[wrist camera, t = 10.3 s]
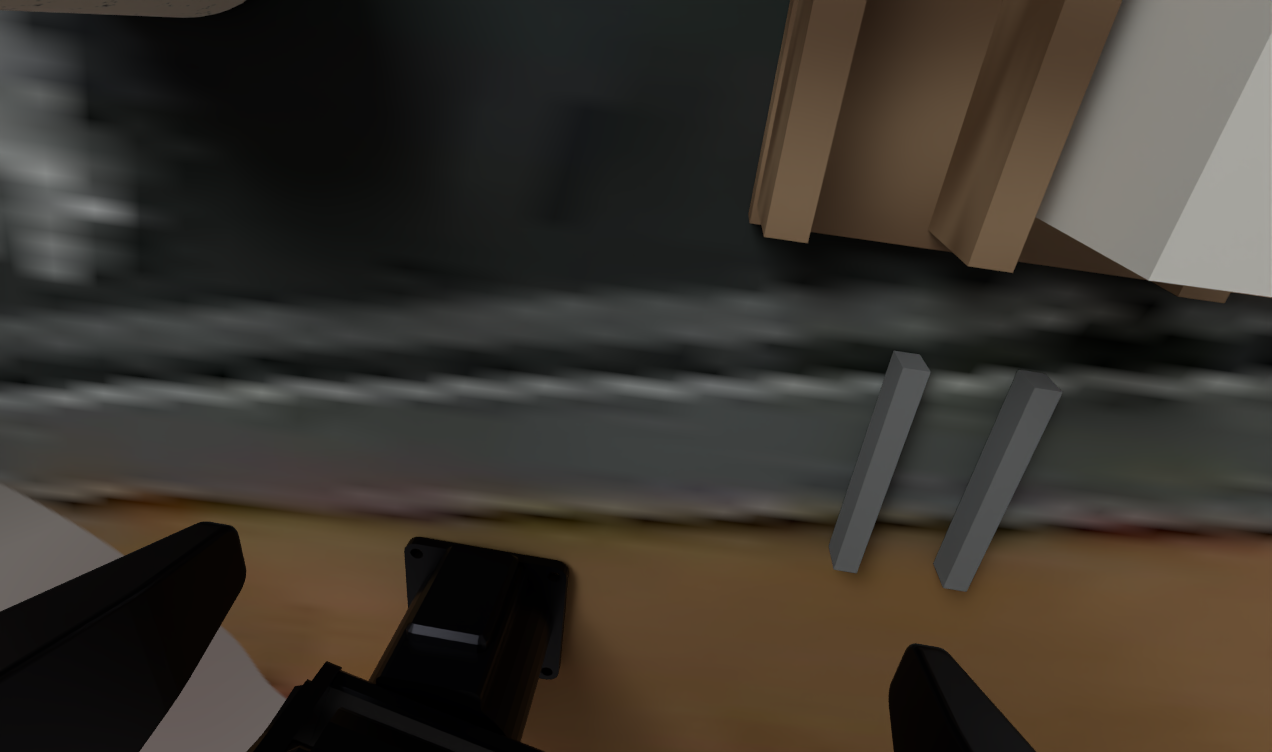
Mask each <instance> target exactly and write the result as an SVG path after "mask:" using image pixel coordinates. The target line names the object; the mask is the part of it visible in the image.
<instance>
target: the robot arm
mask: <svg viewBox="0 0 1272 752" xmlns="http://www.w3.org/2000/svg"><path fill="white" fill-rule="evenodd" d="M417 549H419V550H420V551H418V550H417ZM404 553H405V568H406V583H407V598H408V610H407V612H406V614H405V615H404V617H403V619H402V621H401V623H400V625H399V626H398V628H397V630H396V632H395V634H394V635H393V637H392V639H391V641H390V643H389V645H388V646H387V648H386V650H385V652H384V654H383V655H382V657H381V659H380V661H379V663H378V665H377V666H376V668H375V670H374V672H373V674H372V676H371V677H370V679H369V681H367V680H364V679H362V678H359V677H357V676H354V675H352V674H349V673H347V672H344V671H342V670H341V669H342V667H340V666H337V665H335V664H333V663H330V662H328V661H326V662H325V664H324V665H323V666H322V668H321V669H320V670H319V672H318V673H317V674H316V676H315V677H314V679H313V680H312V681H310V680H308V679H307V680H306V682H305V683H304V684H303V685H300V686H295V687H294V689H293V690H292V692H291V693H290V695H289V696H288V698H287V699H286V701H285V702H284V704H283V705H282V707H281V708H280V710H279V711H278V713H277V714H276V716H275V717H274V719H273V720H272V722H271V723H270V725H269V726H268V727H267V729H266V730H265V731H264V733H263V734H262V735H261V736H260V737H259V739H258V740H257V741H256V742H255V743H254V744H253V745H252V746H251V747H250V748H249V749H248V751H247V752H544V751H542V750H539V749H537V748H534V747H532V746H529V745H527V744H524V743H522V742H521V738H522V735H523V731H524V728H525V724H526V721H527V717H528V714H529V710H530V707H531V703H532V700H533V696H534V693H535V689H536V686H537V682H538V679H539V678H542V679H550V680H551V679H554V678H556V677H557V675H558V673H559V669H560V663H561V652H562V641H563V630H564V618H565V607H566V596H567V585H568V574H569V571H568V568H567V566H566V565H565V564H564V563H562V562H560V561H557V560H552V559H546V558H540V557H534V556H528V555H522V554H516V553H511V552H505V551H499V550H493V549H487V548H481V547H475V546H470V545H464V544H458V543H452V542H446V541H440V540H434V539H429V538H423V537H414V538H412V539H411V540H410V541H409V542H408V544H407V546H406V547H405V551H404ZM552 572H555V573H557V574H559V575H555V574H553V573H552ZM245 578H246V566H245V562H244V557H243V553H242V548H241V544H240V539H239V535H238V532H237V530H236V529H235V528H234V527H233V526H230V525H225V524H219V523H214V522H200V523H197V524H194V525H192V526H190V527H188V528H185V529H183V530H181V531H179V532H177V533H174V534H172V535H170V536H168V537H165V538H163V539H161V540H159V541H156V542H154V543H152V544H150V545H148V546H145V547H143V548H141V549H139V550H136V551H134V552H132V553H130V554H128V555H125V556H123V557H121V558H119V559H116V560H114V561H112V562H110V563H108V564H105V565H103V566H101V567H99V568H96V569H94V570H92V571H90V572H88V573H85V574H83V575H81V576H79V577H76V578H74V579H72V580H70V581H67V582H65V583H63V584H61V585H59V586H56V587H54V588H52V589H50V590H47V591H45V592H43V593H41V594H38V595H36V596H34V597H32V598H30V599H27V600H25V601H23V602H21V603H19V604H16V605H14V606H12V607H10V608H7V609H5V610H3V611H1V612H0V752H139V751H140V750H141V749H142V747H143V746H144V744H145V743H146V742H147V740H148V739H149V737H150V736H151V735H152V733H153V732H154V730H155V729H156V727H157V726H158V725H159V723H160V722H161V721H162V719H163V718H164V716H165V715H166V714H167V712H168V711H169V709H170V708H171V706H172V705H173V703H174V702H175V700H176V699H177V697H178V696H179V694H180V693H181V691H182V690H183V688H184V687H185V685H186V683H187V682H188V680H189V678H190V677H191V675H192V673H193V672H194V670H195V668H196V667H197V665H198V663H199V661H200V660H201V658H202V656H203V655H204V653H205V651H206V649H207V648H208V646H209V644H210V643H211V641H212V639H213V637H214V636H215V634H216V632H217V630H218V629H219V627H220V625H221V624H222V622H223V620H224V619H225V617H226V615H227V613H228V612H229V610H230V608H231V607H232V605H233V603H234V601H235V600H236V598H237V596H238V595H239V593H240V591H241V589H242V587H243V585H244V582H245ZM889 711H890V721H891V730H892V739H893V749H894V752H1036V751H1035V750H1034V749H1033V748H1032V747H1031V745H1030V744H1029V743H1028V742H1027V741H1026V740H1025V739H1024V738H1023V736H1022V735H1021V734H1020V733H1019V732H1018V731H1017V730H1016V729H1015V727H1014V726H1013V725H1012V724H1011V723H1010V722H1009V721H1008V719H1007V718H1006V717H1005V716H1004V715H1003V714H1002V713H1001V712H1000V710H999V709H998V708H997V707H996V706H995V705H994V704H993V703H992V701H991V700H990V699H989V698H988V697H987V696H986V695H985V694H984V692H983V691H982V690H981V689H980V688H979V687H978V686H977V685H976V683H975V682H974V681H973V680H972V679H971V678H970V677H969V676H968V674H967V673H966V672H965V671H964V670H963V669H962V668H961V667H960V665H959V664H958V663H957V662H956V661H955V660H954V659H953V657H952V656H951V655H950V654H949V653H948V652H946V651H945V650H944V649H942V648H939V647H934V646H928V645H922V644H916V643H915V644H911V645H909V646H908V647H907V649H906V650H905V653H904V655H903V657H902V659H901V661H900V664H899V666H898V668H897V670H896V673H895V675H894V677H893V679H892V682H891V684H890V688H889Z"/></svg>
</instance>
